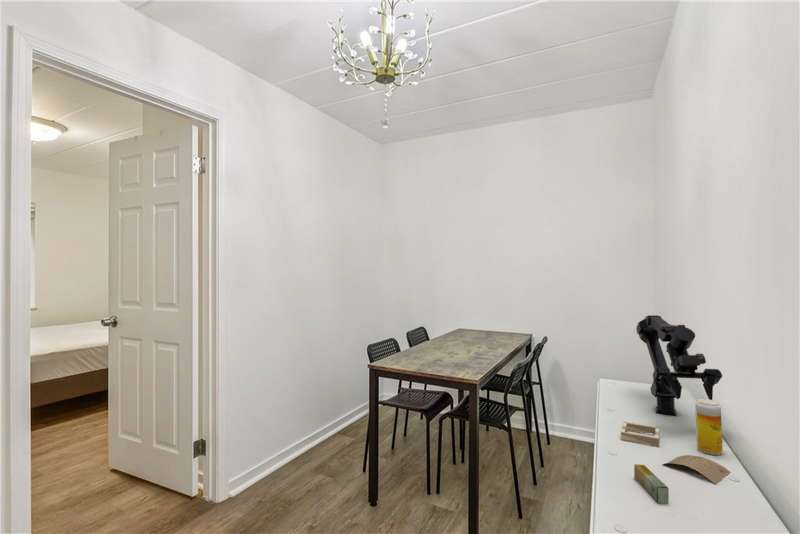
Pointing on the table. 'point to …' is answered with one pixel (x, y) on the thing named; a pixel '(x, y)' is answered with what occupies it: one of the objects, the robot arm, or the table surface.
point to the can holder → (640, 438)
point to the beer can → (708, 426)
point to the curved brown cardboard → (703, 467)
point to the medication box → (651, 484)
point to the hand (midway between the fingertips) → (694, 399)
